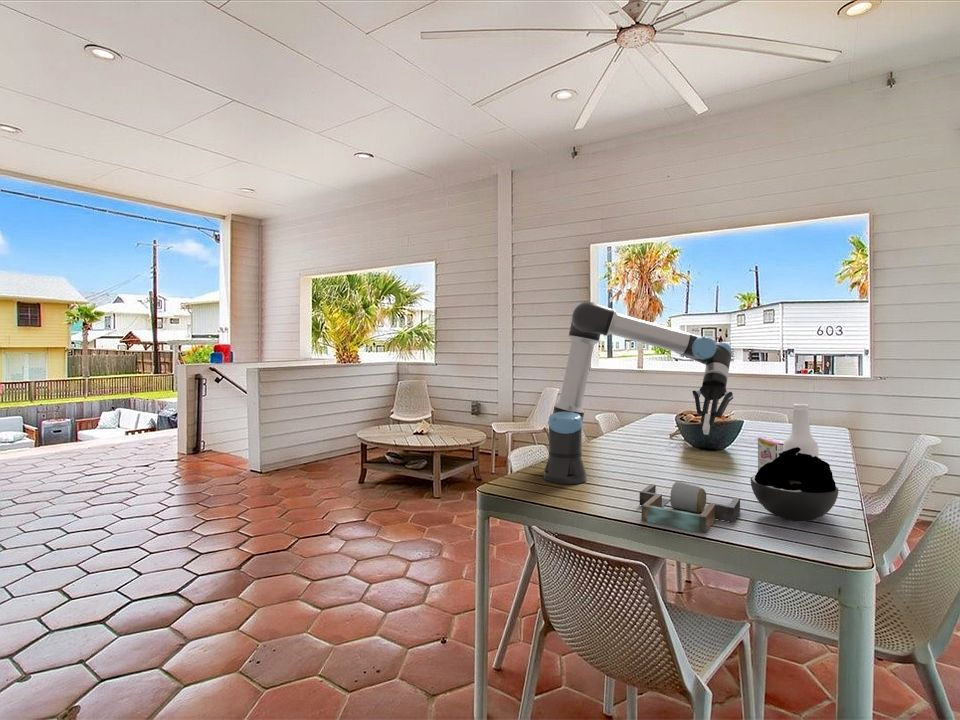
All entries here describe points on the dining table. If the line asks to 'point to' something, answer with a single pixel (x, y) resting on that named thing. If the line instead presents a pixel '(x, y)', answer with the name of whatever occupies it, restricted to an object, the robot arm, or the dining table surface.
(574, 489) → the dining table surface
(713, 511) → the box
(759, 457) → the candy bar box
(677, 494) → the grey cylinder
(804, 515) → the bowl of black rocks
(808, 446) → the alcohol
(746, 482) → the dining table surface
